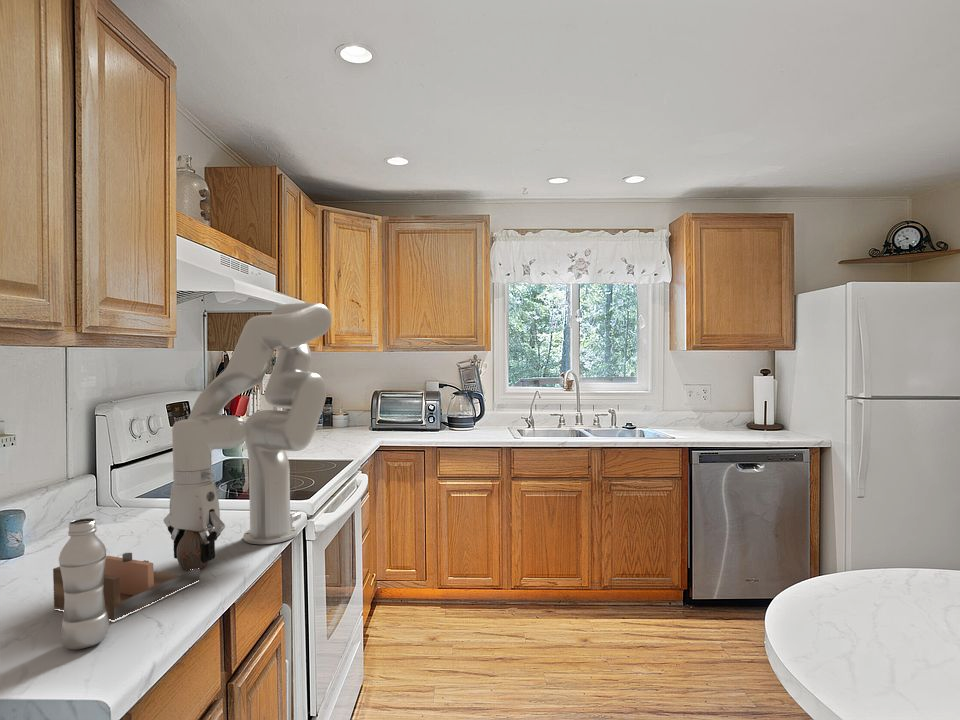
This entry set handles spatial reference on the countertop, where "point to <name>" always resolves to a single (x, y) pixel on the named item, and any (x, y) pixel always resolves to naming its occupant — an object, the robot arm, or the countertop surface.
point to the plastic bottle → (83, 586)
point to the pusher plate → (130, 573)
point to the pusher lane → (126, 603)
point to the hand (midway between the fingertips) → (194, 557)
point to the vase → (190, 550)
